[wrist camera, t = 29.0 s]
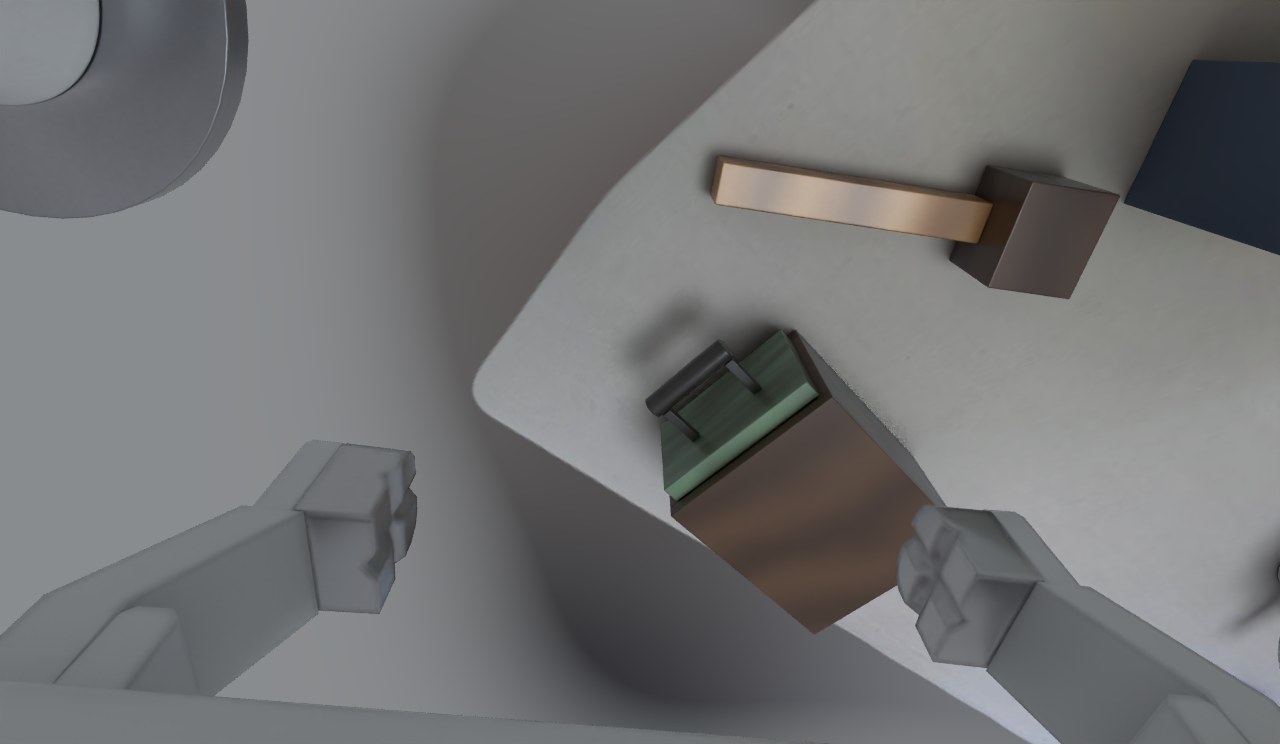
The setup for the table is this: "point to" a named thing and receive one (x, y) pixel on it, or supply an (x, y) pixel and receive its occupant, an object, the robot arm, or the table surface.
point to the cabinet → (814, 505)
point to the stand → (1219, 154)
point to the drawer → (727, 409)
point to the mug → (1279, 639)
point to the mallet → (946, 216)
